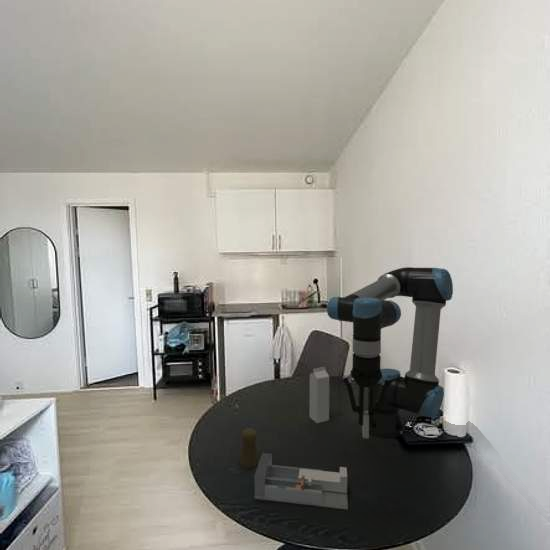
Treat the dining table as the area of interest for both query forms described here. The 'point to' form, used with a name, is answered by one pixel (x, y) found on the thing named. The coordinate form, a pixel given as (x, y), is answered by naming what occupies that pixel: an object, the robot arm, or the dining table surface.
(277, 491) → the gauge housing
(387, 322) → the robot arm
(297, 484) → the brown l-shaped block
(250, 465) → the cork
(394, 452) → the dining table surface
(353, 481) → the dining table surface
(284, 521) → the dining table surface
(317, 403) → the milk
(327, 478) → the plunger
